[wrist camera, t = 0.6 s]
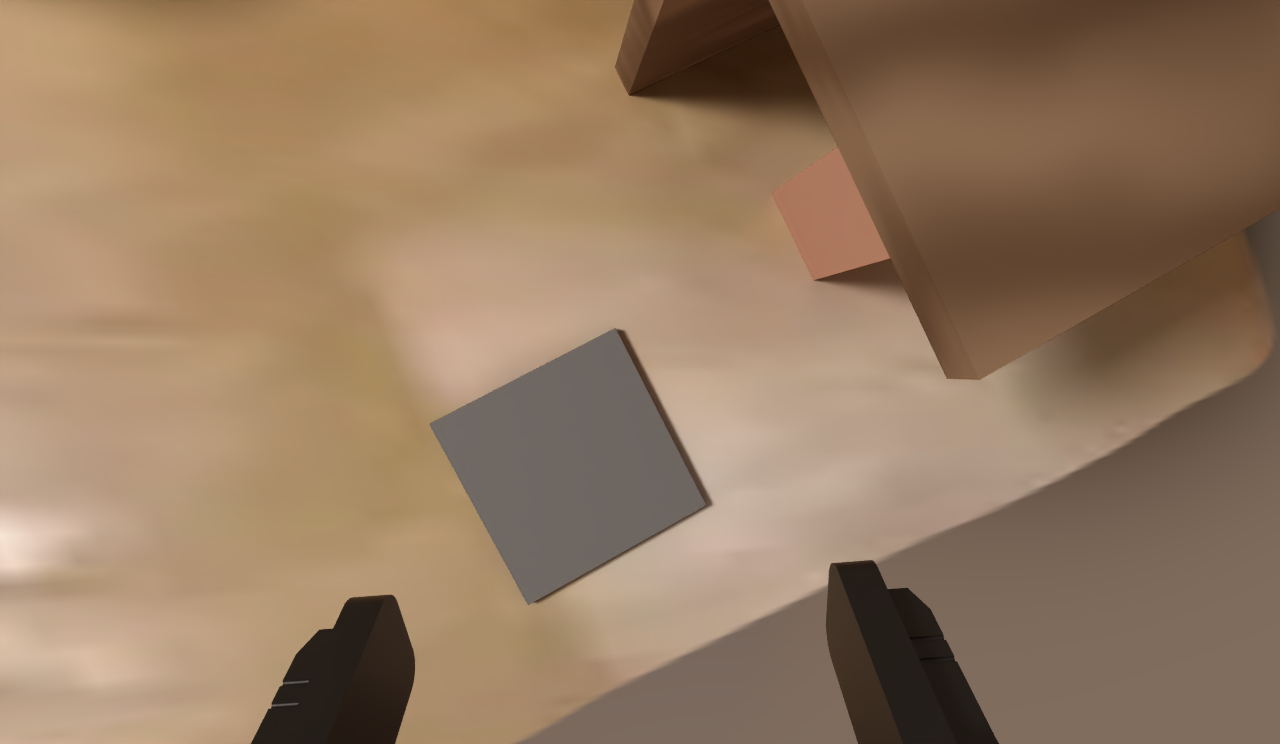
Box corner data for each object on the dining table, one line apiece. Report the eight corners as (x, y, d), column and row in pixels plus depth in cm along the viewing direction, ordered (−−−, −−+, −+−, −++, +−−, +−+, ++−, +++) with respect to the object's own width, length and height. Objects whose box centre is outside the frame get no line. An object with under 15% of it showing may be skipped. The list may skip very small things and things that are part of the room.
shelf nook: (614, 67, 35) (698, -223, 18) (875, -53, 37) (1180, -418, 20) (765, 371, 36) (979, 379, 19) (1007, 239, 38) (1401, 140, 21)
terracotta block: (771, 193, 36) (862, 130, 26) (852, 152, 37) (970, 76, 27) (813, 280, 37) (917, 250, 27) (892, 238, 37) (1023, 194, 27)
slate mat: (430, 422, 34) (429, 424, 33) (614, 328, 35) (615, 328, 35) (528, 601, 35) (528, 605, 34) (703, 503, 36) (706, 504, 35)
